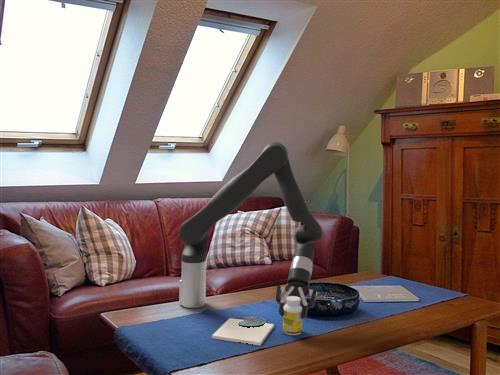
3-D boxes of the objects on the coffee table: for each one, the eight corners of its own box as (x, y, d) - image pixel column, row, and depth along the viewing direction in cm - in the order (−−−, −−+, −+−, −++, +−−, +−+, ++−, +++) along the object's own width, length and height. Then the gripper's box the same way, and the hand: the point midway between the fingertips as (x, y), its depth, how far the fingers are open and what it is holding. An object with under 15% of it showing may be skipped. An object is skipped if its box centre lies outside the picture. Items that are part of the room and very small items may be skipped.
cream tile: (212, 338, 156) (212, 335, 156) (229, 320, 171) (229, 318, 171) (260, 345, 151) (260, 342, 151) (273, 327, 166) (273, 324, 166)
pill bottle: (279, 329, 164) (280, 296, 163) (296, 327, 166) (297, 294, 165) (287, 337, 158) (288, 302, 157) (305, 334, 160) (306, 300, 159)
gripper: (278, 264, 169) (268, 308, 159) (319, 269, 165) (312, 314, 155) (282, 275, 175) (272, 318, 165) (322, 280, 171) (314, 324, 161)
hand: (291, 316), depth 160 cm, fingers closed on pill bottle, 6 cm apart
